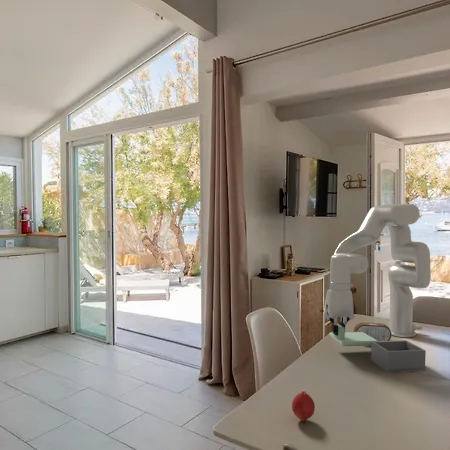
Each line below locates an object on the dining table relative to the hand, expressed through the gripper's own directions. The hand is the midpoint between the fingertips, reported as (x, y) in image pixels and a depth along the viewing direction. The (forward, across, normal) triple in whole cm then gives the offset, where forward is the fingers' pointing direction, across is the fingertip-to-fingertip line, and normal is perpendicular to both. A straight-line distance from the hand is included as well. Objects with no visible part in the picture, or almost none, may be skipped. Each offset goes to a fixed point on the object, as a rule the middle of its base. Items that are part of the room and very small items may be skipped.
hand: (338, 334), depth 151 cm
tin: (+8, -20, -10) cm, 24 cm away
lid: (+3, -6, 0) cm, 7 cm away
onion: (+8, +31, +46) cm, 56 cm away
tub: (+7, -16, +14) cm, 22 cm away
